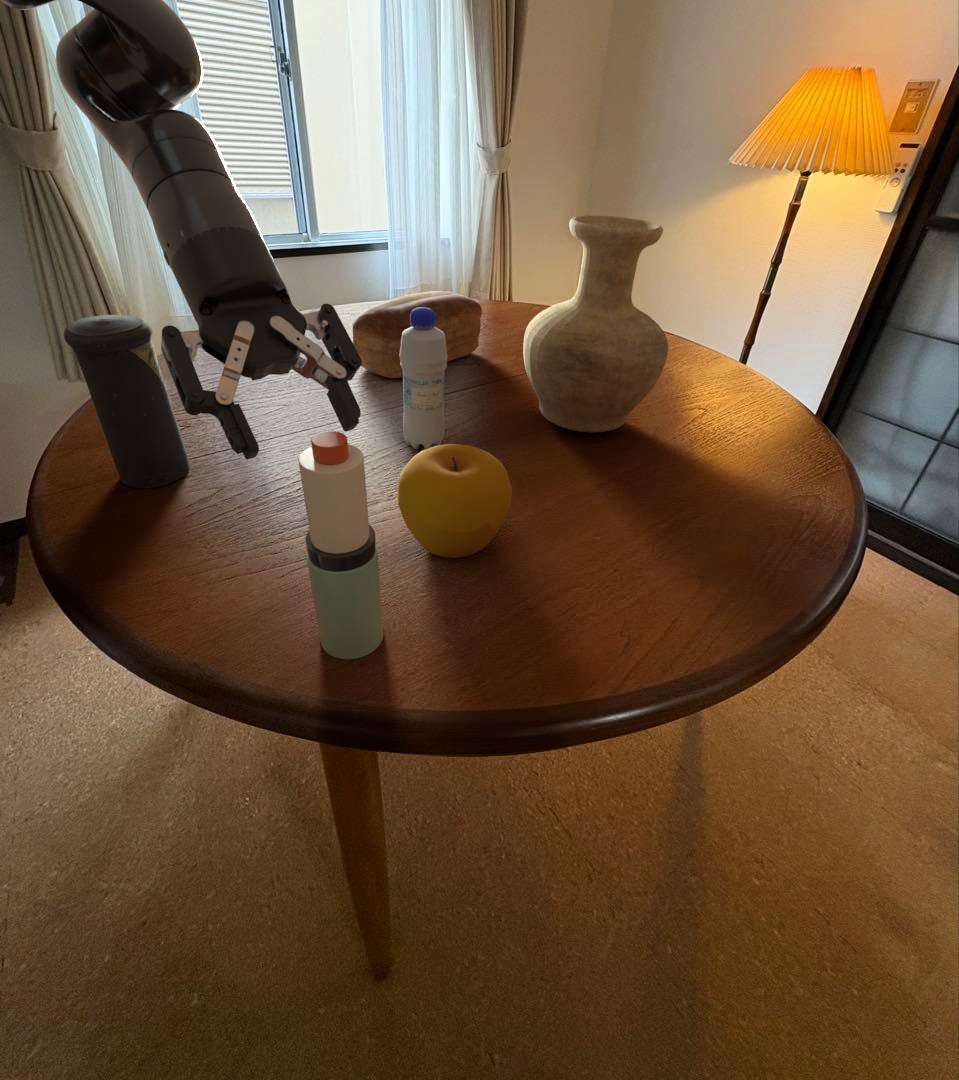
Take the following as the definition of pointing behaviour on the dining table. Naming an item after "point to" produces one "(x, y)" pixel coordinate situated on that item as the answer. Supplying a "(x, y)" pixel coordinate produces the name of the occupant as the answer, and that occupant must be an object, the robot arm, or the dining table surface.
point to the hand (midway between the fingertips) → (305, 440)
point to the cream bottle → (335, 493)
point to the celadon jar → (347, 598)
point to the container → (130, 398)
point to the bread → (387, 321)
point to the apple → (454, 498)
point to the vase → (597, 333)
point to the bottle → (423, 379)
